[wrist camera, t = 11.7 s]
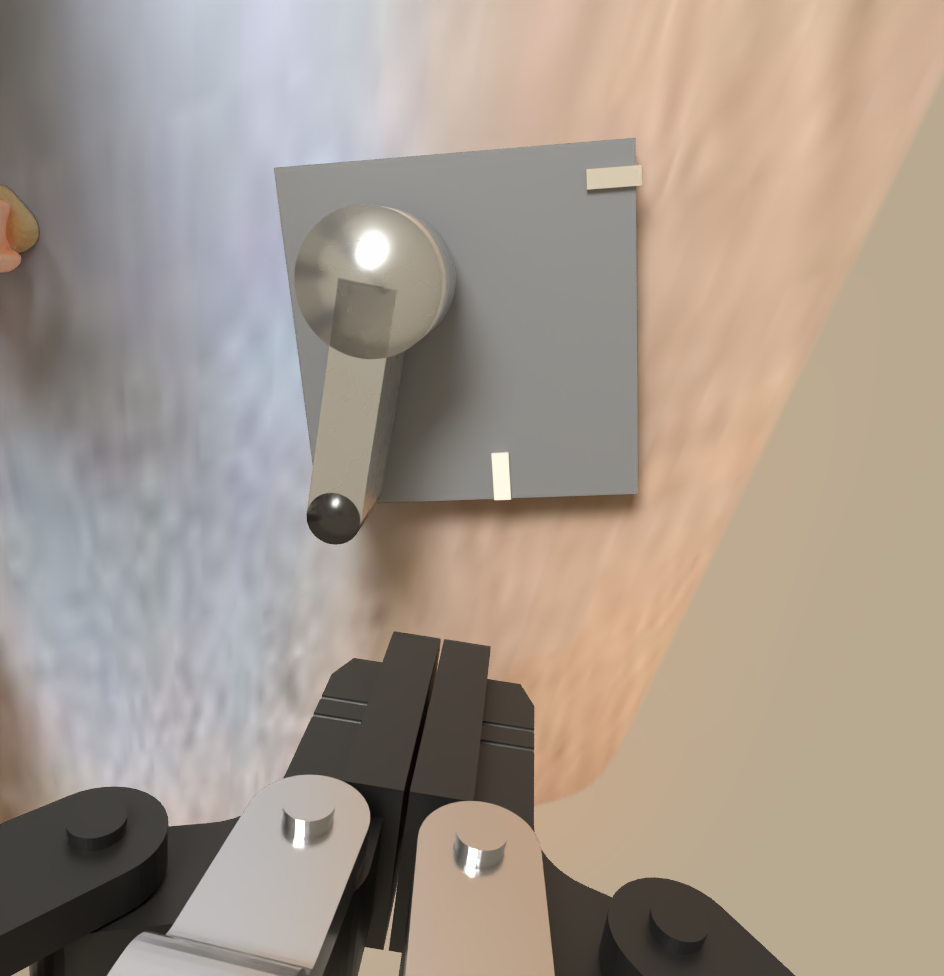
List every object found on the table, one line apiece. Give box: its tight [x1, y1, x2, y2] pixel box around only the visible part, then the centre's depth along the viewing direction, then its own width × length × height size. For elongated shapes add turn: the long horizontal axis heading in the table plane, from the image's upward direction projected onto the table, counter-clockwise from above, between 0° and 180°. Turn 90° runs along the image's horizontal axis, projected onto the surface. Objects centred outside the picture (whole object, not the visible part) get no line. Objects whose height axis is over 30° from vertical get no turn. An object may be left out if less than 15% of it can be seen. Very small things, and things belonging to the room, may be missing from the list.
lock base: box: [274, 138, 642, 503], centre depth 32 cm, size 14×14×2 cm
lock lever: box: [294, 204, 456, 544], centre depth 30 cm, size 12×5×4 cm, turn 169°
